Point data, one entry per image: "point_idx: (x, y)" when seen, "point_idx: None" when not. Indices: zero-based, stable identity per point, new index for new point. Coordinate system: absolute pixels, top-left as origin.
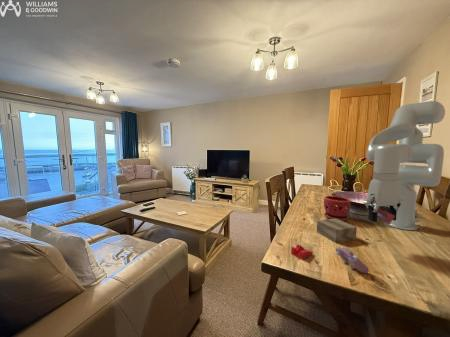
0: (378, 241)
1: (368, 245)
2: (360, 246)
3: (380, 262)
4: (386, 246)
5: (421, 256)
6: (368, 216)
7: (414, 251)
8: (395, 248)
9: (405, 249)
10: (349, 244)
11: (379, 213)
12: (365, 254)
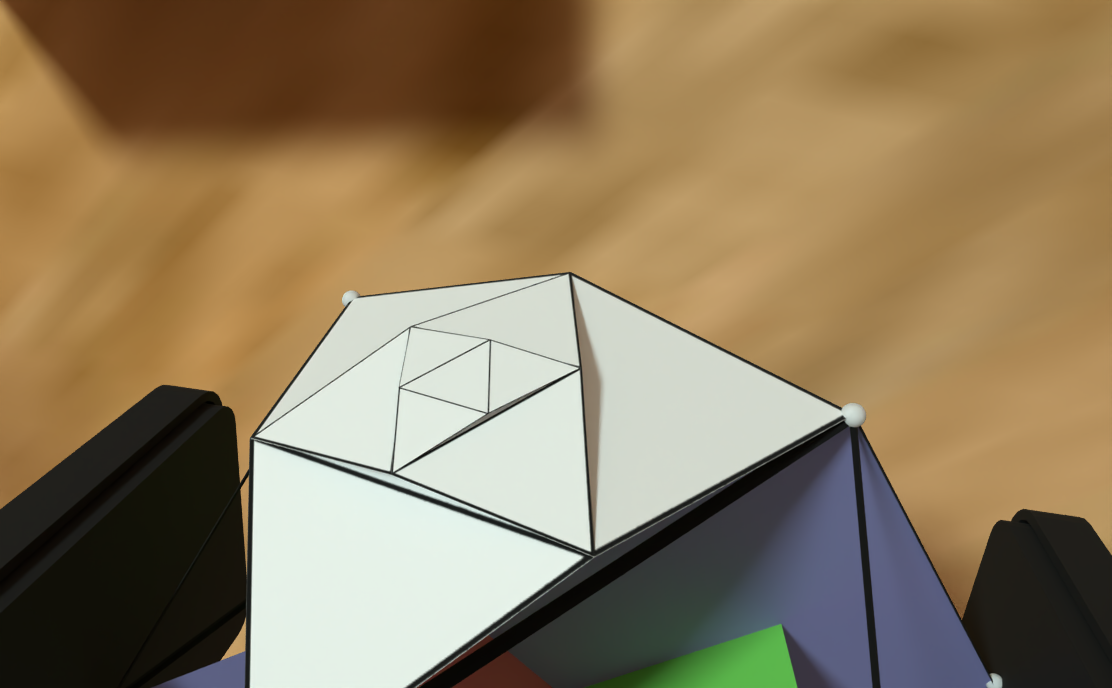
0: (851, 83)
1: (492, 164)
2: (318, 157)
3: (246, 541)
4: (780, 272)
5: (957, 604)
6: (111, 423)
7: (1048, 499)
8: (857, 360)
9: (985, 424)
10: (175, 47)
11: (492, 663)
12: (204, 364)
